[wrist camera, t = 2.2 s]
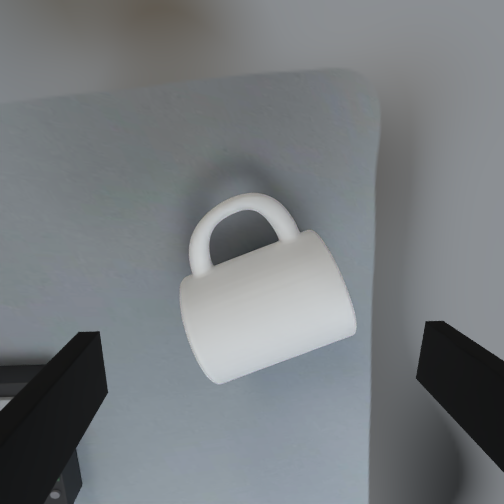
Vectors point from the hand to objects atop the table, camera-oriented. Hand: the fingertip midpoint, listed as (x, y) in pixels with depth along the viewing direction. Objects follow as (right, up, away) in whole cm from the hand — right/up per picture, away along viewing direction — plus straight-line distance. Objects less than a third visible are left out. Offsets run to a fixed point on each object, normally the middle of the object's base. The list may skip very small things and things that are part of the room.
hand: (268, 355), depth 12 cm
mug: (-1, +3, +13) cm, 13 cm away
